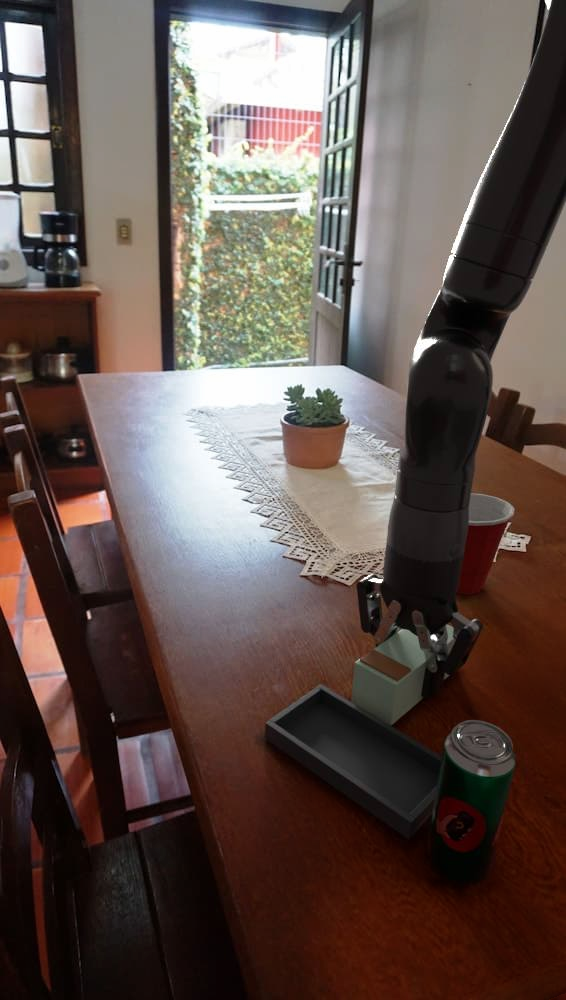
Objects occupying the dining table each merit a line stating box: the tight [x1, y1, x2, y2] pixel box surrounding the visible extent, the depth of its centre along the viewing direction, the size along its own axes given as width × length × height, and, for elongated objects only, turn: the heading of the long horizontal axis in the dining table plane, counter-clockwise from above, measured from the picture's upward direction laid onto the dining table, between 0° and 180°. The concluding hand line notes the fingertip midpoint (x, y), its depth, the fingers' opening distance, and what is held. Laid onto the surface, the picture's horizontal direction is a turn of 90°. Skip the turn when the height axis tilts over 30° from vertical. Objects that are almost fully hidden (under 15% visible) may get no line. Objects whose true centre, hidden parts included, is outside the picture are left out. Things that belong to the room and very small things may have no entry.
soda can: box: [426, 719, 517, 885], centre depth 51 cm, size 5×5×12 cm
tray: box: [264, 683, 442, 841], centre depth 62 cm, size 8×16×2 cm, turn 47°
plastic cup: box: [457, 492, 515, 595], centre depth 92 cm, size 11×11×12 cm
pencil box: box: [350, 624, 456, 726], centre depth 72 cm, size 13×5×5 cm, turn 137°
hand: (406, 681), depth 73 cm, fingers closed on pencil box, 5 cm apart
